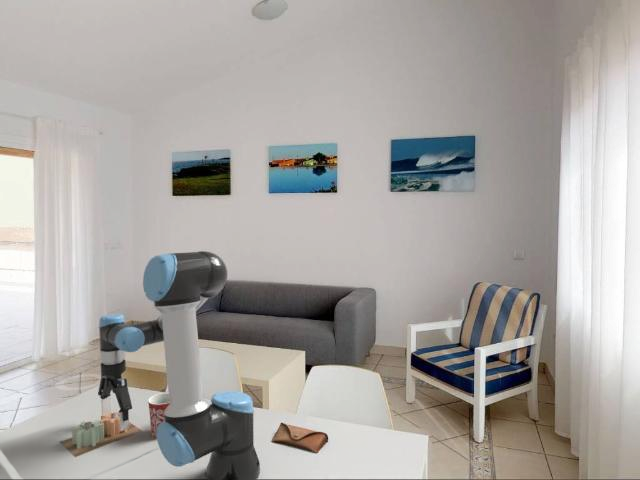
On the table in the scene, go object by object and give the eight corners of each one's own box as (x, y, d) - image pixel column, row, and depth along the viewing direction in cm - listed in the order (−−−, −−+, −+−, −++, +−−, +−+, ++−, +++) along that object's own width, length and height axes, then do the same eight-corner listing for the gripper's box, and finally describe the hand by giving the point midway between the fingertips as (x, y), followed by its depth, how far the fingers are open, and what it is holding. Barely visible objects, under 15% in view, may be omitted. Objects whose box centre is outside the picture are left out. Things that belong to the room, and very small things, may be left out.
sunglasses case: (268, 441, 143) (273, 420, 146) (277, 443, 149) (281, 422, 152) (318, 454, 136) (322, 431, 139) (325, 455, 142) (329, 433, 144)
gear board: (142, 435, 148) (141, 413, 147) (75, 461, 132) (74, 437, 131) (124, 422, 156) (124, 402, 156) (60, 446, 140) (59, 423, 140)
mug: (166, 446, 140) (166, 405, 140) (143, 442, 143) (142, 402, 142) (188, 427, 153) (188, 390, 152) (166, 424, 155) (165, 387, 154)
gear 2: (133, 425, 151) (133, 411, 150) (118, 438, 143) (117, 423, 142) (110, 423, 152) (109, 409, 152) (93, 435, 144) (93, 420, 144)
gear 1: (107, 441, 141) (107, 425, 140) (80, 451, 135) (79, 435, 134) (96, 431, 147) (95, 417, 146) (69, 441, 140) (68, 426, 140)
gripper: (142, 366, 140) (144, 430, 141) (108, 350, 157) (110, 408, 158) (118, 372, 135) (120, 439, 136) (86, 356, 151) (88, 415, 152)
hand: (115, 423), depth 147 cm, fingers open, 13 cm apart
